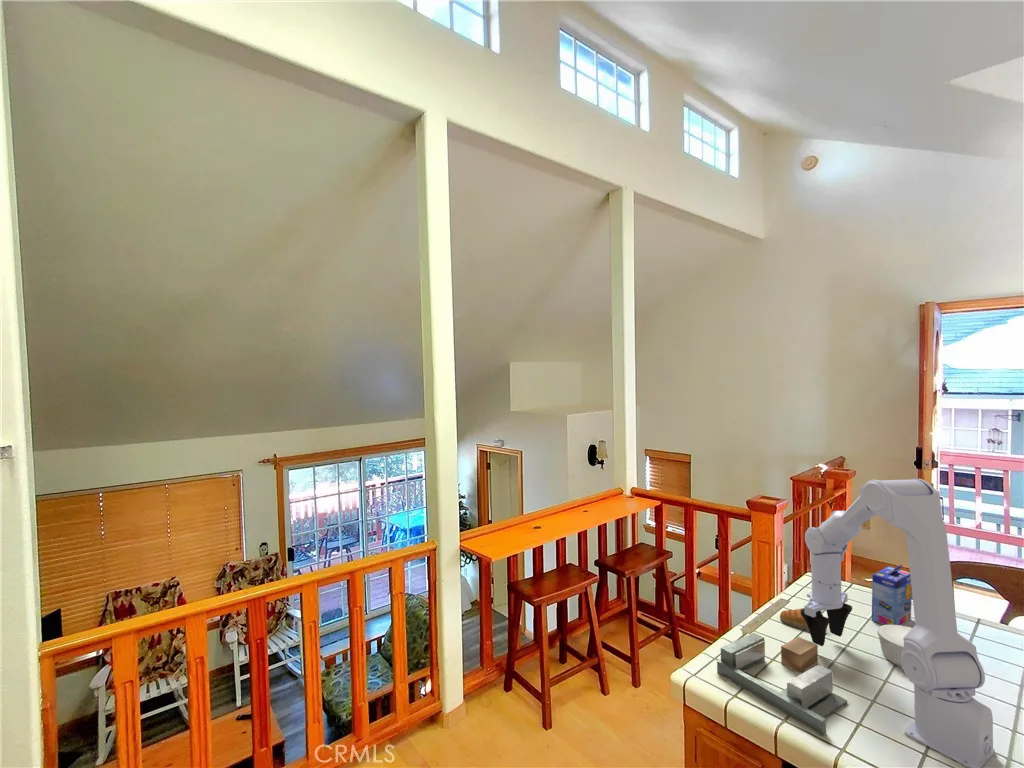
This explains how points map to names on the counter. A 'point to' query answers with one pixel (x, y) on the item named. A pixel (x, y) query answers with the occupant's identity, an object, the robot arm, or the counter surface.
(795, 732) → the counter surface
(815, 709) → the vise body
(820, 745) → the counter surface
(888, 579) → the ink cartridge box
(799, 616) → the pastry
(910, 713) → the counter surface
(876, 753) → the counter surface
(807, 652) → the block
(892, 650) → the ramekin
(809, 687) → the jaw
